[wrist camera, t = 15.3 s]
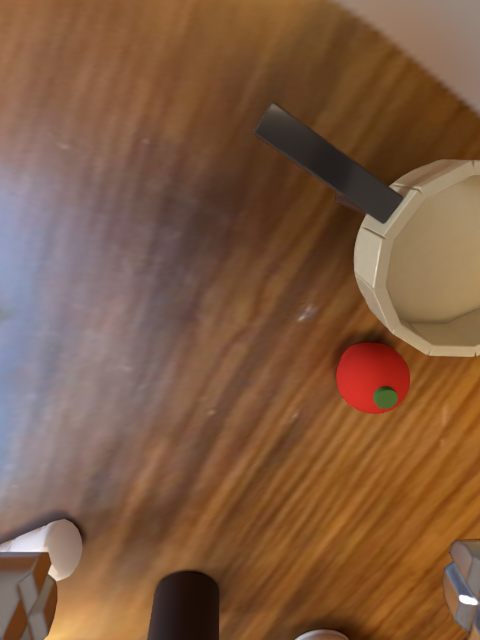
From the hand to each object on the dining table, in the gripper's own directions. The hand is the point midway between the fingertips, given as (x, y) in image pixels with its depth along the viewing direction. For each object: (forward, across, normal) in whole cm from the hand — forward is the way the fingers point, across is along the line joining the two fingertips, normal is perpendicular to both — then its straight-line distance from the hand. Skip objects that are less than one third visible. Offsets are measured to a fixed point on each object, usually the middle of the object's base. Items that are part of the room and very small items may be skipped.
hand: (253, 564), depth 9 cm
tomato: (+24, -11, +8) cm, 28 cm away
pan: (+25, -8, -5) cm, 26 cm away
